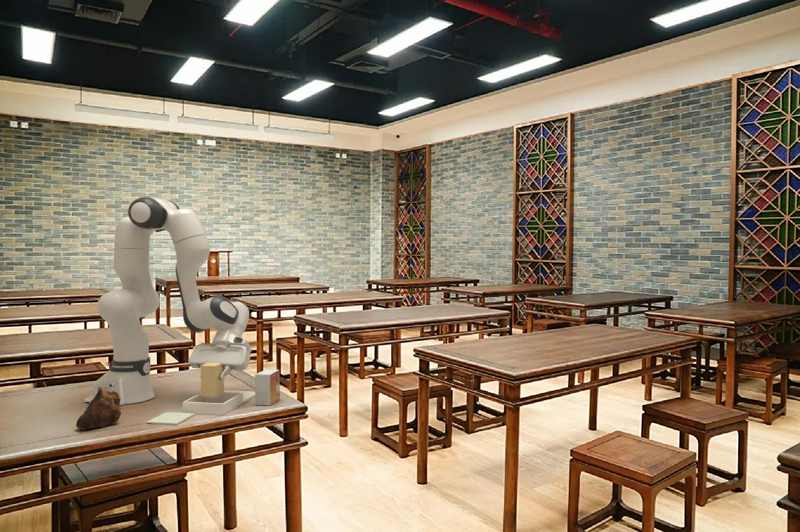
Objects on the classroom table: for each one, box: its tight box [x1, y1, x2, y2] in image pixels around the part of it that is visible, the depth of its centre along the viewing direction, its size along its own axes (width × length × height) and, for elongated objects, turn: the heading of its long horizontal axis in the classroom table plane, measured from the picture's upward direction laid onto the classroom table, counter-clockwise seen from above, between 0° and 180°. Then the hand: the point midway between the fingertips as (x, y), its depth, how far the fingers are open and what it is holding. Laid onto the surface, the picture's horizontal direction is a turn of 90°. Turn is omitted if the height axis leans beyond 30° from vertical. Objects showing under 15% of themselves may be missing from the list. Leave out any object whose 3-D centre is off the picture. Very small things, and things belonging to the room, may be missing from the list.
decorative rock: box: [75, 389, 122, 431], centre depth 161 cm, size 12×6×11 cm, turn 138°
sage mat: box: [146, 411, 196, 426], centre depth 167 cm, size 10×10×1 cm
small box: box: [254, 368, 281, 406], centre depth 185 cm, size 8×6×10 cm
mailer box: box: [182, 389, 255, 416], centre depth 185 cm, size 14×26×4 cm, turn 170°
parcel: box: [200, 363, 225, 397], centre depth 179 cm, size 5×6×10 cm
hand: (211, 378), depth 178 cm, fingers closed on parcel, 5 cm apart
